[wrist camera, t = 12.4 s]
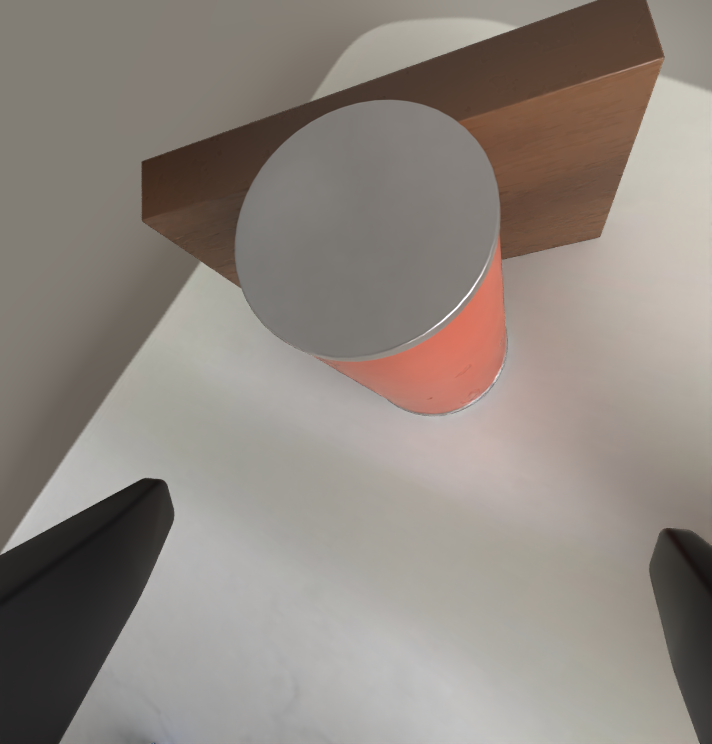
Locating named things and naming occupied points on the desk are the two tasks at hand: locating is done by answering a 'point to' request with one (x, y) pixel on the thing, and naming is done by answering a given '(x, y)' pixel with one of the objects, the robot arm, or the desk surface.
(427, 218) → the can
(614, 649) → the desk surface
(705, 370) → the desk surface
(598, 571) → the desk surface
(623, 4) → the wooden board
